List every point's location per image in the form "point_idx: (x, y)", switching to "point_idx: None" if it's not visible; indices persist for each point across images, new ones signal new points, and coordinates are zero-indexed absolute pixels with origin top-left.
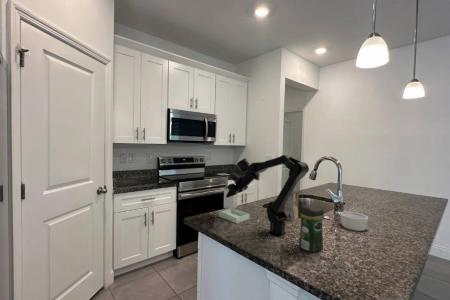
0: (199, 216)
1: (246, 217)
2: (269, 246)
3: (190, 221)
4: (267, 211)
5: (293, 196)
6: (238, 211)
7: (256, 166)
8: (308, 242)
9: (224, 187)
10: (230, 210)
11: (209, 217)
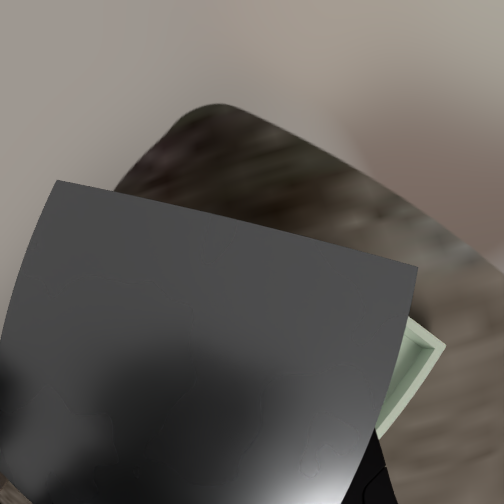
0: (269, 135)
1: None
2: (11, 495)
3: (173, 126)
4: None
5: None
6: (378, 425)
7: None
8: None
9: (51, 194)
10: (417, 339)
11: (267, 198)
